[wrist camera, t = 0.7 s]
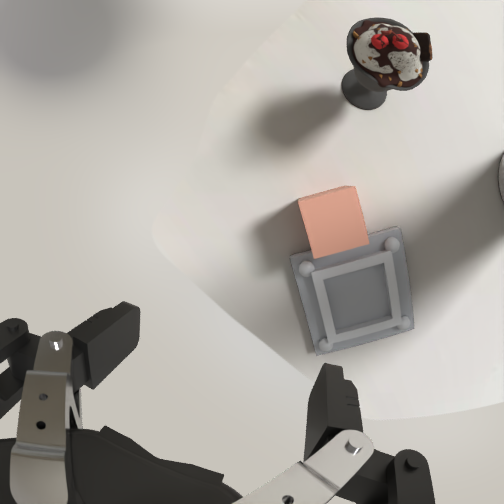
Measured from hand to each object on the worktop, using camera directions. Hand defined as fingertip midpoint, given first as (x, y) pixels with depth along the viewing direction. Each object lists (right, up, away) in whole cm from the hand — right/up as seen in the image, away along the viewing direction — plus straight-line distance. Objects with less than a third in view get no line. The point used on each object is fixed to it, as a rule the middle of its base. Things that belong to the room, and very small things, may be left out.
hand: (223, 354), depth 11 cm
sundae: (+13, +21, +14) cm, 29 cm away
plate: (+13, 0, +19) cm, 23 cm away
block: (+9, +8, +18) cm, 22 cm away
